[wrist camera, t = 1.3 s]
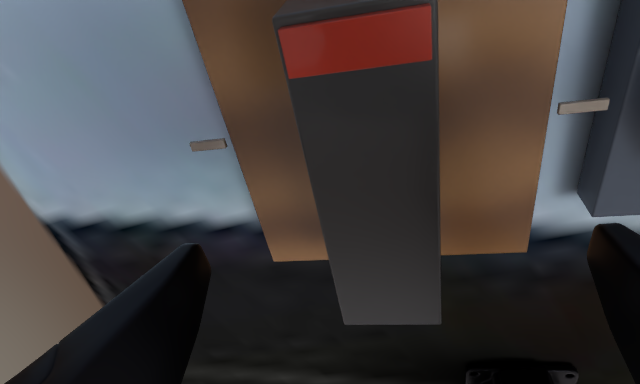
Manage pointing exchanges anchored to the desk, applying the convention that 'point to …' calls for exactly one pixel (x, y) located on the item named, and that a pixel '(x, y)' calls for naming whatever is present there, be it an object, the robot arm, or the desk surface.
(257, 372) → the desk surface
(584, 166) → the button housing
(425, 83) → the box
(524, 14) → the base
